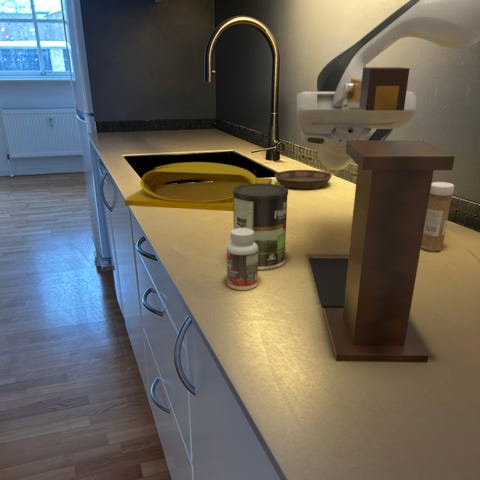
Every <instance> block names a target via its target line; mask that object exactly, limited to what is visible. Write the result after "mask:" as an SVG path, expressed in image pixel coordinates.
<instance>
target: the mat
mask: <svg viewBox="0 0 480 480" xmlns="http://www.w3.org/2000/svg"><path fill="white" fill-rule="evenodd" d="M348 259H349V257H309V263H310V266H311V270H312V274H313V278H314V281H315V285H316V289H317V294H318V297H319V302H320V304H321V308H322V309H324V308H344V298H345V288H346V279H347V269H348Z"/></svg>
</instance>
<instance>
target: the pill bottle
mask: <svg viewBox="0 0 480 480" xmlns="http://www.w3.org/2000/svg"><path fill="white" fill-rule="evenodd" d="M229 237H230V238H229V239H230V242H229V243H228V244H227V245H226V282H227V283H226V284H227V286H228V287H229V288H231V289H232V290H237V291H249V290H252V289H254V288H256V287H257V286H258V280H259V270H258V245H257V244H256V243H255V242H253V241H254V231H253V230H251V229H248V228H237V229H234V228H233V229H231V230H230V236H229Z"/></svg>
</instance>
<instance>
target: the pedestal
mask: <svg viewBox="0 0 480 480" xmlns="http://www.w3.org/2000/svg"><path fill="white" fill-rule="evenodd" d="M346 153H347V154H348V155H349V156H350V157H351V158H352V159H353V161H354V163H355V164H356V165H357V171H356V180H355V189H354V201H353V210H352V220H351V229H350V239H349V249H348V258H349V259H348V269H347V279H346V288H345V298H344V308H323V316H324V320H325V323H326V327H327V331H328V335H329V340H330V342H331V346H332V351H333V354H334V358H335V361H337V362H338V361H339V362H401V363H402V362H404V363H405V362H407V363H408V362H409V363H411V362H412V363H428V360H429V353H428V352H427V350H426V349H425V348H426V347H424V344H423V343H422V342H421V340H420V338H419V336H418V335H417V333H416V331H415V329H414V328H413V326H412V324H411V323H410V321H409V320H410V316H411V315H410V314H411V309H412V304H413V303H412V302H413V297H414V291H415V285H416V279H417V274H418V267H419V261H420V256H421V255H420V254H421V249H422V248H421V244H422V238H423V232H424V226H425V220H426V214H427V208H428V202H429V196H430V190H431V184H432V183H433V177H434V172H435V171H453V168H454V162H455V158H456V157H455V156H454V155H453V154H451V153H449V152H447V151H445V150H442V149H441V148H439V147H437V146H434V145H433V144H431V143H429V142H427V141H425V140H398V139H397V140H393V139H392V140H388V139H387V140H386V139H385V140H347V142H346Z"/></svg>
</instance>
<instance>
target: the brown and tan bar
mask: <svg viewBox="0 0 480 480" xmlns="http://www.w3.org/2000/svg"><path fill="white" fill-rule="evenodd" d="M410 70H411V69H410V67H403V66H402V67H401V66H377V67H376V66H370V67H369V66H366V67H363V73H362V79H351V83H354V94H353V97H352V98H349V99H351V100H353V101H355V102H357V103H359V107H361V108H362V109H364V110H366V111H403V110H404V106H405V99H406V92H408V91H407V89H408V83H409V78H410V76H409V75H410Z"/></svg>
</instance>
